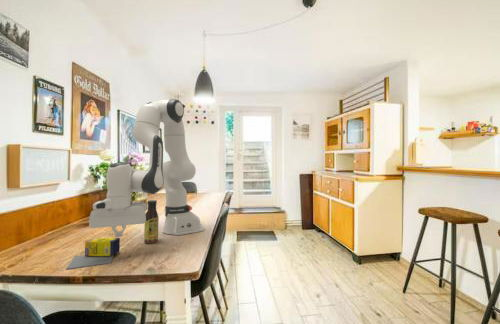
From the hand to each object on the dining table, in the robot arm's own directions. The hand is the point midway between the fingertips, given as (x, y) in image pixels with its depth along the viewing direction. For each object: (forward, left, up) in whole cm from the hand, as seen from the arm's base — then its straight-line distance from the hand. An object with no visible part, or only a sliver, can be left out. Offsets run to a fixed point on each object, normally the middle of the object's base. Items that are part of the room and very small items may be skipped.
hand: (119, 236), depth 97 cm
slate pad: (+9, 0, -8) cm, 12 cm away
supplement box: (+1, -3, -5) cm, 6 cm away
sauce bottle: (-12, -14, -9) cm, 21 cm away
